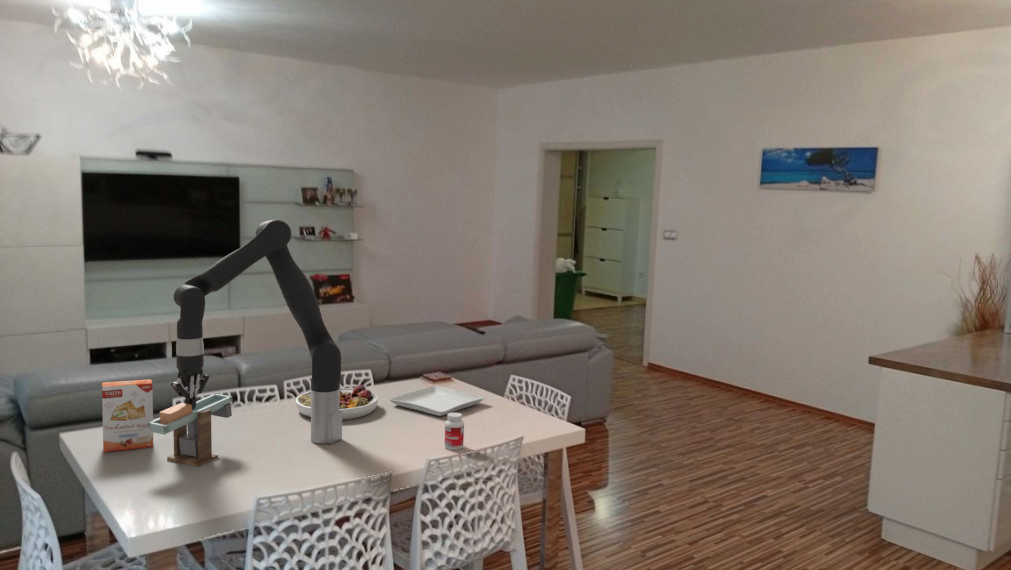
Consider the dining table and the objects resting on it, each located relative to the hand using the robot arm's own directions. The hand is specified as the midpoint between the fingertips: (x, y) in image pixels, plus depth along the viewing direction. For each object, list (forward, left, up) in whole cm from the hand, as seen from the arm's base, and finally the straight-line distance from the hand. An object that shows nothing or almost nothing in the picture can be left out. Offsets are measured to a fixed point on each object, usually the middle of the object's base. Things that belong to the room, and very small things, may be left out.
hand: (191, 409), depth 220 cm
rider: (0, +6, -2) cm, 6 cm away
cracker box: (+25, +1, -16) cm, 29 cm away
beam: (0, -2, -14) cm, 14 cm away
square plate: (-38, -87, -16) cm, 97 cm away
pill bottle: (-65, -46, -16) cm, 81 cm away
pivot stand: (0, 0, -16) cm, 16 cm away
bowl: (-8, -63, -16) cm, 66 cm away
